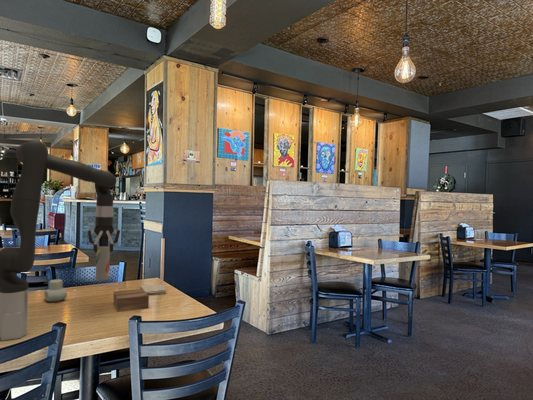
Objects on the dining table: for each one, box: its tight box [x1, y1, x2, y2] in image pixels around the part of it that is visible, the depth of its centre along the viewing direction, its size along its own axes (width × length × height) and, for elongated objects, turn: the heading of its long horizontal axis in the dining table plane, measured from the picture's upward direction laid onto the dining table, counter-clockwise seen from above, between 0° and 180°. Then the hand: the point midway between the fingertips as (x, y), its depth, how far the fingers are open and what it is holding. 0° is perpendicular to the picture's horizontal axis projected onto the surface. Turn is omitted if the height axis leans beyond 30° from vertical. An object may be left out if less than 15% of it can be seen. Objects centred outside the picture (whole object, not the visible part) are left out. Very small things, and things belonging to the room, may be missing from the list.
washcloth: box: [139, 283, 167, 297], centre depth 209 cm, size 12×18×3 cm, turn 30°
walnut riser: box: [113, 288, 150, 313], centre depth 180 cm, size 14×14×6 cm
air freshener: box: [43, 278, 68, 303], centre depth 185 cm, size 11×8×10 cm
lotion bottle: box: [95, 237, 111, 281], centre depth 170 cm, size 6×6×20 cm
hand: (103, 252), depth 170 cm, fingers closed on lotion bottle, 5 cm apart
